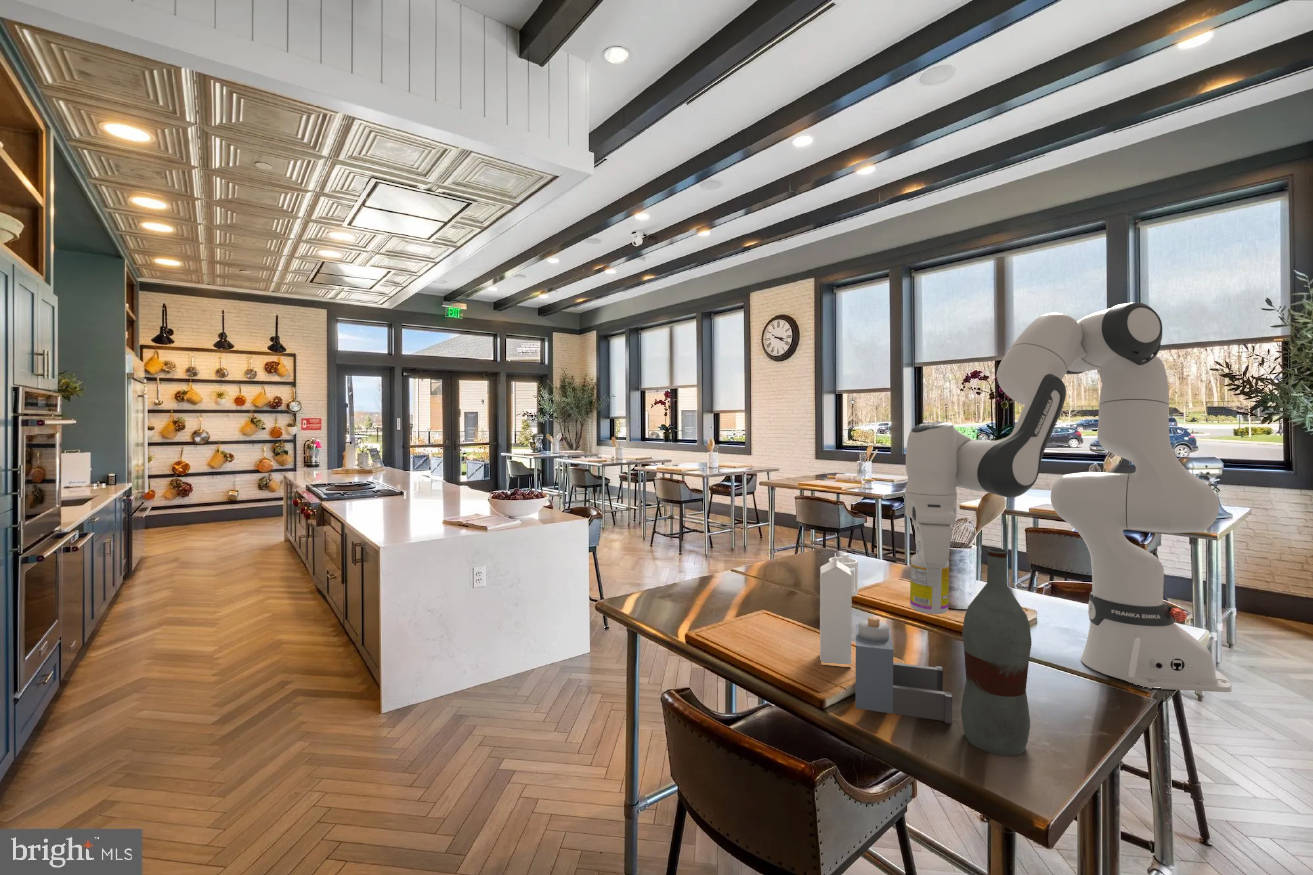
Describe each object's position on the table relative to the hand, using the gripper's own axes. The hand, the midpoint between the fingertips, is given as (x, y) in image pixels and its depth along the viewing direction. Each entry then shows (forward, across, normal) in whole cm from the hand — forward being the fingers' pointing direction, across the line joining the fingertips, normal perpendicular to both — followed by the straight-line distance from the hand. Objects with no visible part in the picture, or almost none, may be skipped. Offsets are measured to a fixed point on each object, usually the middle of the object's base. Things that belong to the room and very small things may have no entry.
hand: (929, 580), depth 112 cm
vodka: (+20, +20, +8) cm, 29 cm away
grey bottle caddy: (+19, +8, -6) cm, 22 cm away
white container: (+19, -35, -16) cm, 43 cm away
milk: (+20, -4, -17) cm, 26 cm away
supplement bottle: (+6, 0, 0) cm, 6 cm away
